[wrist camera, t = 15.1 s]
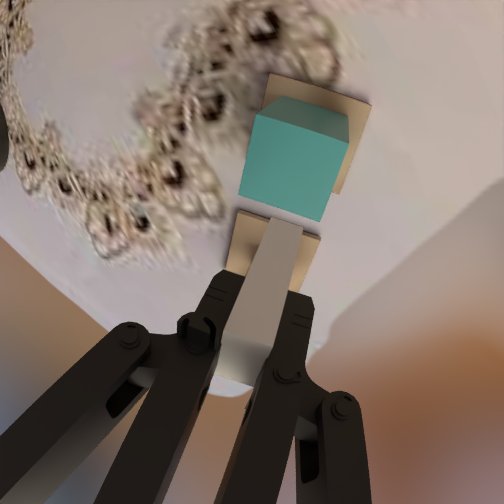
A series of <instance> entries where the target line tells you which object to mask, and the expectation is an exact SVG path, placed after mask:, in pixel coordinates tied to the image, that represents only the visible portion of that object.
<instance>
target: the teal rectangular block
mask: <svg viewBox="0 0 504 504" xmlns="http://www.w3.org/2000/svg"><path fill="white" fill-rule="evenodd" d="M348 146H349V119H348V116H346V115H343V114H340V113H337V112H334V111H332V110H329V109H326V108H323V107H319V106H316V105H313V104H310V103H307V102H304V101H300V100H297V99H293V98H290V97H287V96H281V97H280V98H278V99H277V100H275V101H274V102H273V103H271V104H270V105H268V106H267V107H265V108H264V109H263V110H261V111H260V112H258V113H257V114H256V117H255V121H254V125H253V130H252V134H251V139H250V143H249V147H248V152H247V156H246V161H245V165H244V170H243V174H242V179H241V184H240V188H239V193H238V195H241V196H244V197H247V198H250V199H253V200H256V201H259V202H262V203H265V204H268V205H271V206H274V207H277V208H280V209H283V210H286V211H289V212H292V213H295V214H298V215H300V216H303V217H306V218H309V219H312V220H315V221H318V222H320V220H321V218H322V215H323V213H324V210H325V207H326V205H327V202H328V200H329V197H330V194H331V192H332V189H333V187H334V184H335V181H336V179H337V176H338V173H339V171H340V168H341V165H342V162H343V160H344V157H345V154H346V151H347V149H348Z"/></svg>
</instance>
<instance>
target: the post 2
mask: <svg viewBox="0 0 504 504" xmlns="http://www.w3.org/2000/svg"><path fill="white" fill-rule="evenodd" d="M269 221H270V220H269V219H266V218H263V217H260V216H257V215H254V214H251V213H248V212H245V211H242V210H239V211H238V213H237V218H236V223H235V227H234V232H233V236H232V241H231V246H230V251H229V255H228V260H227V265H226V270H227V271H230V272H233V273H236V274H239V275H242V276H245V277H246V276H247V274H248V271H249V269H250V266H251V264H252V262H253V259H254V257H255V255H256V252H257V250H258V247H259V245H260V243H261V240H262V238H263V235H264V233H265V231H266V228H267V226H268V224H269ZM320 240H321V237H318V236H315V235H312V234H310V233H307V232H304V231H303V232H302V236H301V240H300V244H299V248H298V252H297V257H296V261H295V265H294V269H293V273H292V277H291V280H290V284H289V288H288V290H290V291H293V292H297V293H298V291H299V289H300V287H301V285H302V282H303V280H304V278H305V275H306V273H307V271H308V269H309V266H310V264H311V262H312V259H313V257H314V255H315V252H316V250H317V248H318V245H319V243H320Z"/></svg>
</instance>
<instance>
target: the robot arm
mask: <svg viewBox="0 0 504 504" xmlns="http://www.w3.org/2000/svg"><path fill="white" fill-rule="evenodd" d="M7 158H8V133H7V127H6V122H5V118H4V114H3V111H2V108H1V106H0V172H1V171H2V170H3V169H4V167H5V165H6V162H7ZM303 228H304V227H301V226H298V225H295V224H292V223H288V222H285V221H282V220H279V219H276V218H273V217H271V219H270V221H269V224H268V226H267V228H266V231H265V233H264V235H263V238H262V240H261V243H260V245H259V247H258V250H257V252H256V255H255V257H254V259H253V262H252V264H251V266H250V269H249V271H248V274H247V276H246V277H245V276H242V275H239V274H236V273H233V272H230V271H227V270H224V269H223V270H222V271H220V272H219V273H218V274H216V275H215V276H214V277H213V279H212V281H211V282H210V284H209V287H208V288H207V290H206V292H205V294H204V296H203V297H202V299H201V301H200V303H199V305H198V307H197V309H196V311H195V312H189V313H187V314H185V315H183V316H182V317H181V318H180V319H179V320H178V321H177V333H175V334H171V335H162V334H152V333H149V332H148V330H147V329H146V328H145V327H144V326H143V325H141V324H138V323H136V322H125V323H121V324H119V325H118V326H116V327H115V328H113V329H112V330H111V331H110V332H109V333H108V334H107V335H106V336H105V337H104V338H102V339H101V340H100V341H99V342H98V343H97V344H96V345H95V346H94V347H93V348H92V349H91V350H89V351H88V352H87V353H86V354H85V355H84V356H83V357H82V358H81V359H80V360H79V361H78V362H76V363H75V364H74V365H73V366H72V367H71V368H70V369H69V370H68V371H67V372H66V373H65V374H64V375H63V376H62V377H61V378H60V379H58V380H57V381H56V382H55V383H54V384H53V385H52V386H51V387H50V388H49V389H48V390H47V391H46V392H45V393H44V394H43V395H42V396H40V398H38V399H37V400H36V401H35V402H34V403H33V404H32V406H30V407H29V408H28V409H27V410H26V411H25V412H24V413H23V414H22V415H21V416H20V417H19V418H18V419H17V420H16V421H15V422H14V423H13V424H12V425H11V426H10V427H9V428H8V429H7V430H6V431H5V432H4V433H3V434H2V435H1V436H0V504H43V503H44V502H45V501H46V500H47V499H48V498H49V497H50V496H51V495H52V494H53V493H54V492H55V491H56V490H57V489H58V488H59V487H60V485H61V484H62V483H63V482H64V481H65V480H66V479H67V478H68V477H69V476H70V475H71V474H72V472H74V471H75V469H76V468H77V467H78V466H79V465H80V464H81V463H82V462H83V461H84V460H85V459H86V458H87V457H88V455H89V454H90V453H91V452H92V451H93V450H94V449H95V448H96V447H97V446H98V444H100V442H101V441H102V440H103V439H104V438H105V437H106V436H107V435H108V434H109V433H110V431H111V430H112V429H113V428H114V427H115V426H116V425H117V424H118V423H119V422H120V421H121V420H122V418H123V417H124V416H125V415H126V414H127V413H128V412H129V411H130V410H131V409H132V407H133V406H134V405H135V404H136V403H137V402H138V400H140V399H141V398H142V396H143V395H144V394H145V393H146V392H147V391H148V390H149V389H150V390H149V392H148V394H147V396H146V398H145V400H144V402H143V404H142V406H141V407H140V409H139V411H138V414H137V415H136V417H135V419H134V421H133V423H132V425H131V428H130V429H129V431H128V433H127V435H126V437H125V439H124V441H123V443H122V445H121V448H120V450H119V452H118V454H117V456H116V458H115V460H114V462H113V464H112V466H111V468H110V470H109V472H108V474H107V476H106V478H105V481H104V483H103V485H102V487H101V489H100V491H99V493H98V495H97V497H96V499H95V502H94V504H162V503H163V500H164V498H165V495H166V493H167V491H168V488H169V485H170V483H171V481H172V478H173V476H174V473H175V471H176V469H177V466H178V464H179V461H180V459H181V456H182V454H183V451H184V449H185V447H186V444H187V442H188V439H189V437H190V434H191V432H192V429H193V427H194V425H195V422H196V419H197V417H198V415H199V412H200V410H201V407H202V405H203V402H204V400H205V397H206V395H207V392H208V390H209V387H210V382H211V379H212V377H213V375H214V374H217V375H219V376H222V377H225V378H228V379H231V380H234V381H237V382H240V383H243V384H246V385H249V386H252V387H254V389H253V392H252V395H251V397H250V399H249V401H248V403H247V405H246V407H245V409H246V411H245V414H244V417H243V420H242V423H241V426H240V429H239V432H238V435H237V438H236V441H235V444H234V447H233V450H232V453H231V456H230V459H229V461H228V465H227V467H226V470H225V473H224V476H223V479H222V482H221V484H220V487H219V490H218V493H217V495H216V499H215V501H214V504H276V502H277V498H278V495H279V491H280V487H281V484H282V480H283V476H284V472H285V468H286V464H287V460H288V456H289V452H290V448H291V444H292V440H293V436H295V455H296V456H295V458H296V502H297V504H372V500H371V489H370V478H369V469H368V460H367V453H366V443H365V436H364V428H363V421H362V414H361V408H360V406H359V403H358V401H357V400H356V399H355V397H354V396H352V395H351V394H349V393H347V392H343V391H335V392H331V393H329V392H328V391H326V390H324V389H323V388H321V387H319V386H318V385H317V384H315V383H314V382H313V381H312V380H311V379H310V377H309V376H308V374H307V372H306V368H305V360H306V355H307V350H308V344H309V339H310V333H311V327H312V322H313V321H312V320H313V316H314V310H315V308H314V304H313V301H312V298H311V297H309V296H306V295H303V294H300V293H297V292H293V291H290V290H288V288H289V284H290V280H291V277H292V273H293V269H294V265H295V261H296V257H297V252H298V248H299V244H300V240H301V236H302V232H303Z"/></svg>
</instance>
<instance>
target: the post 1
mask: <svg viewBox="0 0 504 504" xmlns="http://www.w3.org/2000/svg"><path fill="white" fill-rule="evenodd" d="M281 96H287V97H290V98H293V99H297V100H300V101H304V102H307V103H310V104H313V105H316V106H319V107H323V108H326V109H329V110H332V111H334V112H337V113H340V114H343V115H346V116H348V119H349V146H348V149H347V151H346V154H345V157H344V160H343V162H342V165H341V168H340V171H339V173H338V176H337V179H336V181H335V184H334V187H333V189H332V192H333V193H336V194H340V191H341V189H342V186H343V184H344V181H345V178H346V176H347V173H348V171H349V168H350V165H351V163H352V160H353V157H354V155H355V152H356V149H357V147H358V144H359V141H360V138H361V136H362V133H363V130H364V127H365V125H366V122H367V119H368V116H369V113H370V110H371V107H372V105H370V104H367V103H365V102H362V101H359V100H357V99H354V98H351V97H348V96H346V95H343V94H340V93H337V92H334V91H331V90H328V89H325V88H322V87H318V86H315V85H312V84H309V83H305V82H302V81H298V80H295V79H291V78H287V77H284V76H280V75H276V74H272V73H271V74H270V75H269V79H268V83H267V87H266V91H265V95H264V99H263V104H262V108H261V110H263V109H264V108H265V107H267V106H268V105H270V104H271V103H273V102H274V101H275V100H277V99H278V98H280V97H281Z"/></svg>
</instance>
